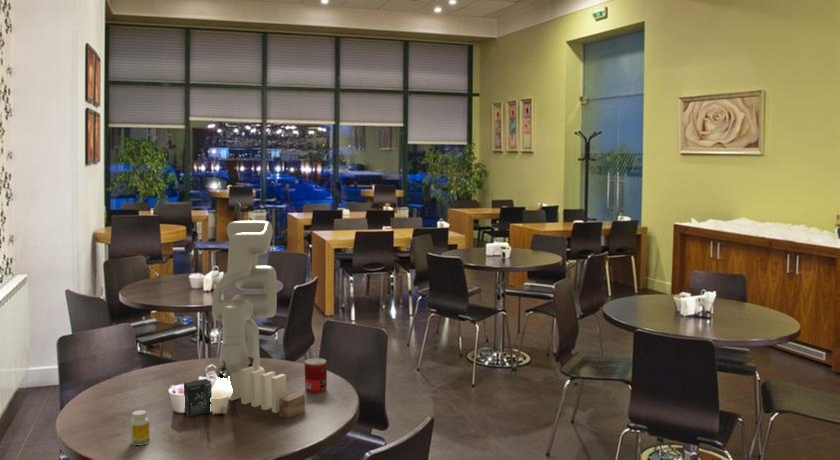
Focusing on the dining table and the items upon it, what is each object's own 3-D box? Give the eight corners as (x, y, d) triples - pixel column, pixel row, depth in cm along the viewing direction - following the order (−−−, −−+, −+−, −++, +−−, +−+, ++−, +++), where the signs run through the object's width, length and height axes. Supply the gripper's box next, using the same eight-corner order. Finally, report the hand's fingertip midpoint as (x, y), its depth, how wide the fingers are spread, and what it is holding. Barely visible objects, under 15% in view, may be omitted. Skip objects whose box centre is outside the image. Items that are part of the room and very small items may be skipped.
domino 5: (271, 411, 259) (271, 377, 257) (282, 407, 263) (281, 373, 262) (276, 413, 258) (275, 378, 256) (286, 408, 262) (285, 374, 260)
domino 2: (241, 403, 267) (240, 369, 266) (251, 399, 271) (250, 366, 270) (245, 404, 266) (244, 370, 265) (255, 400, 270) (254, 367, 269)
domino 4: (261, 408, 262) (260, 374, 260) (271, 404, 266) (271, 371, 264) (265, 410, 261) (264, 375, 259) (276, 405, 265) (275, 372, 263)
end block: (279, 416, 255) (279, 398, 254) (296, 409, 261) (295, 392, 261) (288, 418, 253) (287, 401, 252) (304, 411, 259) (304, 394, 258)
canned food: (325, 393, 278) (324, 363, 276) (303, 393, 278) (302, 363, 276) (328, 386, 285) (327, 357, 284) (307, 386, 285) (306, 357, 284)
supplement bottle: (127, 442, 233) (126, 412, 231) (144, 437, 236) (143, 407, 235) (136, 447, 229) (134, 416, 228) (153, 442, 233) (151, 412, 232)
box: (189, 417, 254) (188, 386, 252) (184, 412, 258) (183, 382, 257) (212, 412, 258) (211, 382, 257) (207, 407, 263) (206, 378, 261)
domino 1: (228, 399, 271) (227, 366, 269) (239, 395, 275) (238, 363, 273) (232, 400, 270) (231, 367, 268) (242, 396, 274) (241, 364, 272)
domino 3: (251, 406, 264) (250, 372, 263) (261, 401, 269) (260, 368, 267) (255, 407, 263) (254, 373, 262) (265, 403, 267) (265, 369, 266)
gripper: (244, 332, 279) (246, 378, 281) (207, 343, 265) (209, 391, 267) (259, 335, 275) (260, 381, 277) (222, 346, 261) (223, 395, 263)
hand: (235, 386), depth 272 cm, fingers open, 9 cm apart
